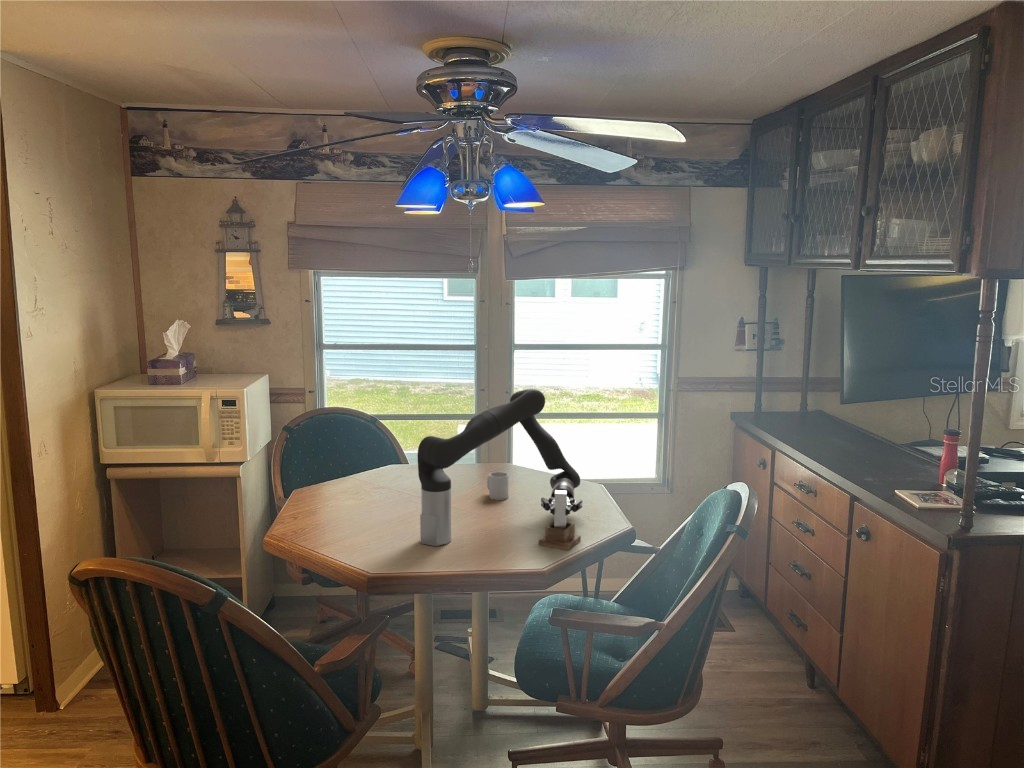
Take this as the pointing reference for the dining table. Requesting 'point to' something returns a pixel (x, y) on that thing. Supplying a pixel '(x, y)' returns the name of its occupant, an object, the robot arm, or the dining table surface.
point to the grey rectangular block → (560, 509)
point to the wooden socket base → (560, 537)
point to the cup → (498, 485)
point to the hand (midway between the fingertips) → (560, 512)
